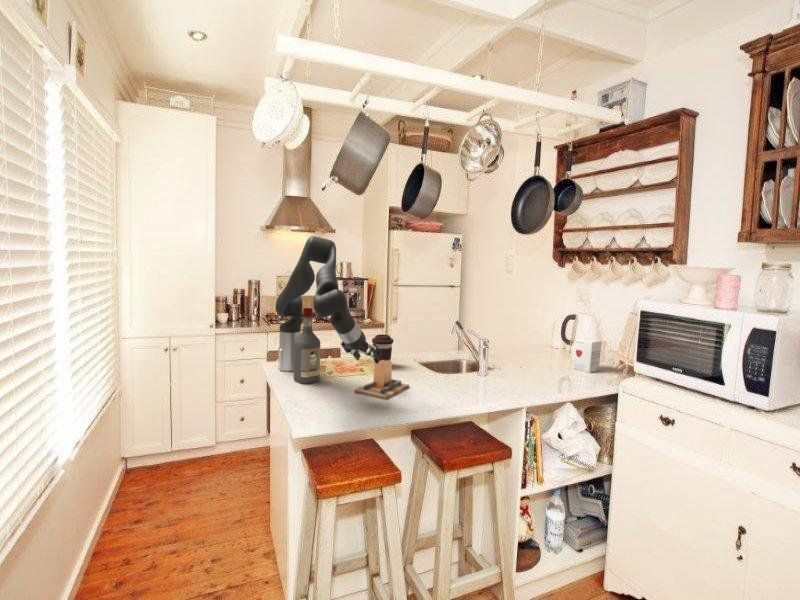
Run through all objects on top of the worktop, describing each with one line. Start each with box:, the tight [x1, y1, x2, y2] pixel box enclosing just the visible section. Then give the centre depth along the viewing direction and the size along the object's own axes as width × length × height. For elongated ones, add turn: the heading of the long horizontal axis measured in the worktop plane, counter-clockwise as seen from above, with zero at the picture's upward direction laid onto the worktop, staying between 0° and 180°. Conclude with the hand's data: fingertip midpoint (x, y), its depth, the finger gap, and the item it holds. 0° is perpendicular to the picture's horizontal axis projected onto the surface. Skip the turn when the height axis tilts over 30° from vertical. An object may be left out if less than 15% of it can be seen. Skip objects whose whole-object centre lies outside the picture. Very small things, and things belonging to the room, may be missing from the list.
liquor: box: [293, 307, 321, 385], centre depth 181 cm, size 9×9×30 cm
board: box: [354, 378, 410, 401], centre depth 175 cm, size 18×14×3 cm
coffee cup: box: [371, 333, 394, 364], centre depth 206 cm, size 10×10×15 cm
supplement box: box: [572, 337, 603, 374], centre depth 217 cm, size 9×9×15 cm
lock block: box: [373, 360, 393, 390], centre depth 174 cm, size 6×4×10 cm
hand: (368, 359), depth 163 cm, fingers open, 8 cm apart
